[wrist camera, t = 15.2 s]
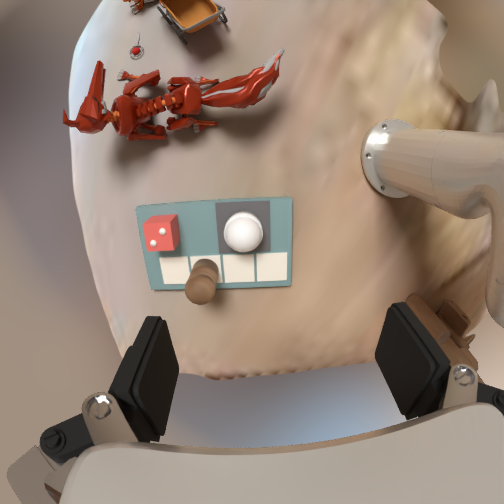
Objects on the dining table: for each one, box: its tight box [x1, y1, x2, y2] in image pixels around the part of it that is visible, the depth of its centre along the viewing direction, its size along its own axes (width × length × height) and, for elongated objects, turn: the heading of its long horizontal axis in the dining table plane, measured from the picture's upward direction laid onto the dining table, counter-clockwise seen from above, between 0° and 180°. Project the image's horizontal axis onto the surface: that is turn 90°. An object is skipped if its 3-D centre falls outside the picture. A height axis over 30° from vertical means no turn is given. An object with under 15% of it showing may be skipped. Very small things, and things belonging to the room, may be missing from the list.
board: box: [136, 197, 292, 290], centre depth 39 cm, size 23×14×5 cm, turn 92°
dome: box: [224, 211, 263, 252], centre depth 36 cm, size 5×5×5 cm
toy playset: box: [63, 0, 285, 141], centre depth 24 cm, size 35×26×14 cm
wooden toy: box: [406, 294, 484, 384], centre depth 36 cm, size 16×7×25 cm, turn 76°
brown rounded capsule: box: [185, 259, 219, 305], centre depth 38 cm, size 4×4×8 cm
